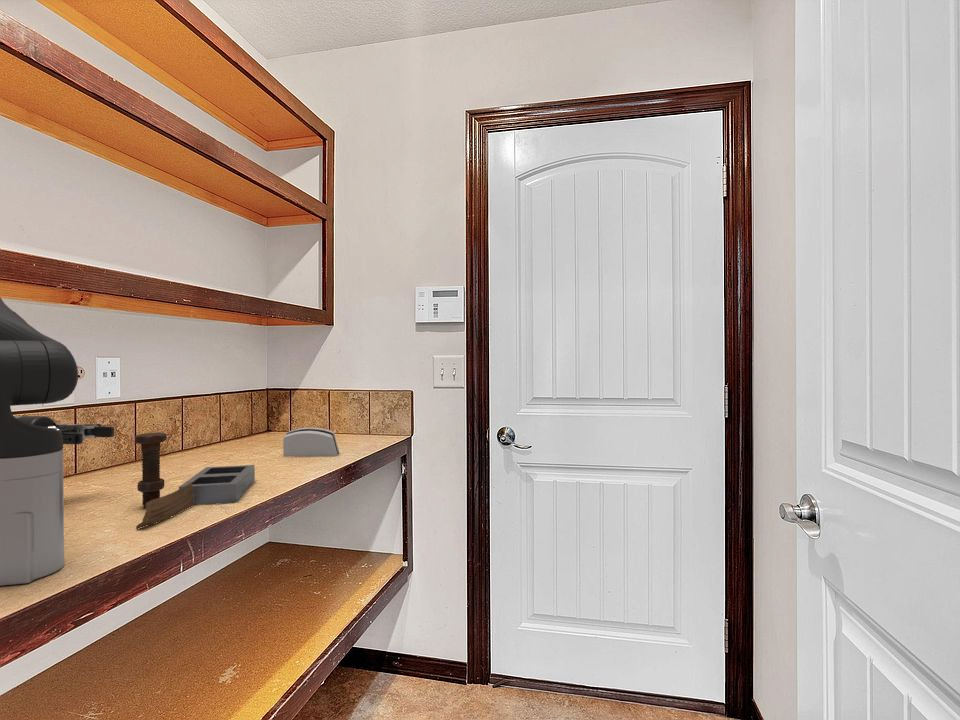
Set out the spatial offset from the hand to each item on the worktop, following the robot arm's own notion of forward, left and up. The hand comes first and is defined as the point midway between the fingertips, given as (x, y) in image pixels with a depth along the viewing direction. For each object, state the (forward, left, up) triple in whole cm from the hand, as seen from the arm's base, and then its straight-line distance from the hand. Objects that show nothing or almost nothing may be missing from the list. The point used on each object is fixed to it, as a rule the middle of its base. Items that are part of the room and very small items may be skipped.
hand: (97, 435), depth 109 cm
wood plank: (-12, -17, -15) cm, 26 cm away
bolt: (-3, -11, -15) cm, 19 cm away
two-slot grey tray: (+6, -22, -15) cm, 27 cm away
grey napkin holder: (+48, -38, -15) cm, 63 cm away
